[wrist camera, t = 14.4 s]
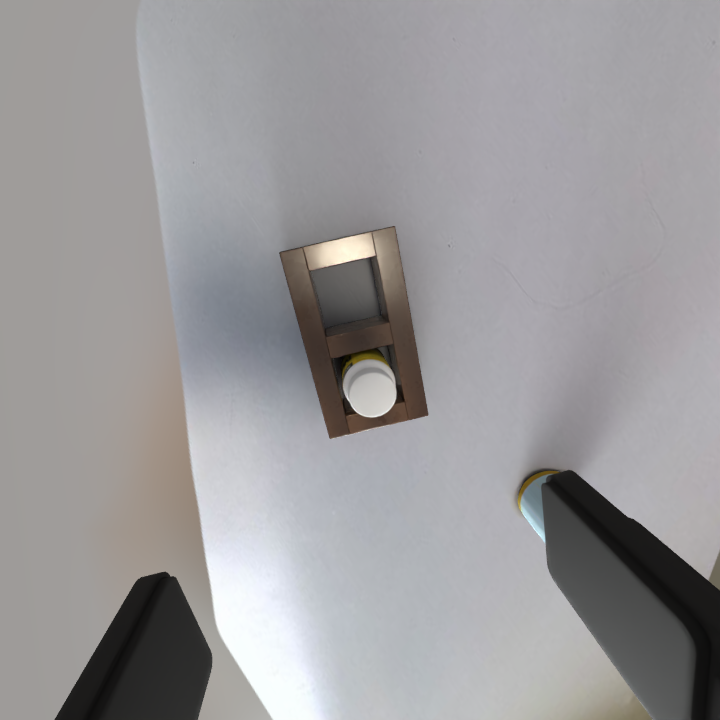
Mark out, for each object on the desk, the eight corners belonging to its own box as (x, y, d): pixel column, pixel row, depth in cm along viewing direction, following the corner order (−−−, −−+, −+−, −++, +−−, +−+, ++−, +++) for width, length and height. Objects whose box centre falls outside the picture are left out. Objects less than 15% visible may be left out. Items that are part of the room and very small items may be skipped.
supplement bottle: (341, 342, 36) (345, 366, 28) (386, 344, 37) (404, 367, 29) (339, 386, 38) (342, 421, 29) (383, 387, 38) (398, 422, 30)
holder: (329, 419, 38) (329, 439, 34) (284, 253, 33) (278, 252, 29) (417, 398, 39) (428, 415, 34) (386, 230, 34) (395, 225, 29)
